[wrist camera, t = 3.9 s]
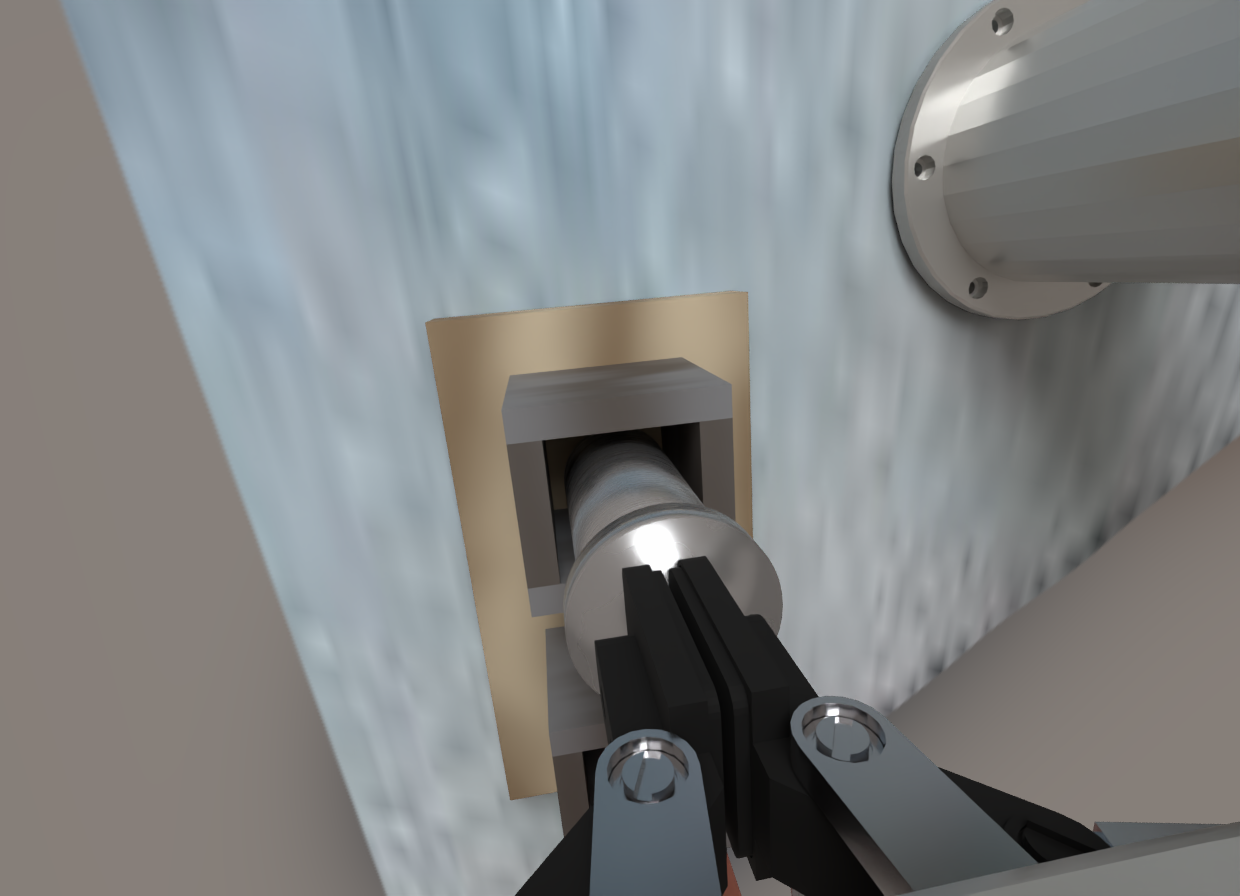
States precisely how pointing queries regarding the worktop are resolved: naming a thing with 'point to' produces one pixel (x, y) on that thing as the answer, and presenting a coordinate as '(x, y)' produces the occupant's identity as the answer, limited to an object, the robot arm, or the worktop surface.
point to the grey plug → (645, 539)
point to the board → (535, 493)
